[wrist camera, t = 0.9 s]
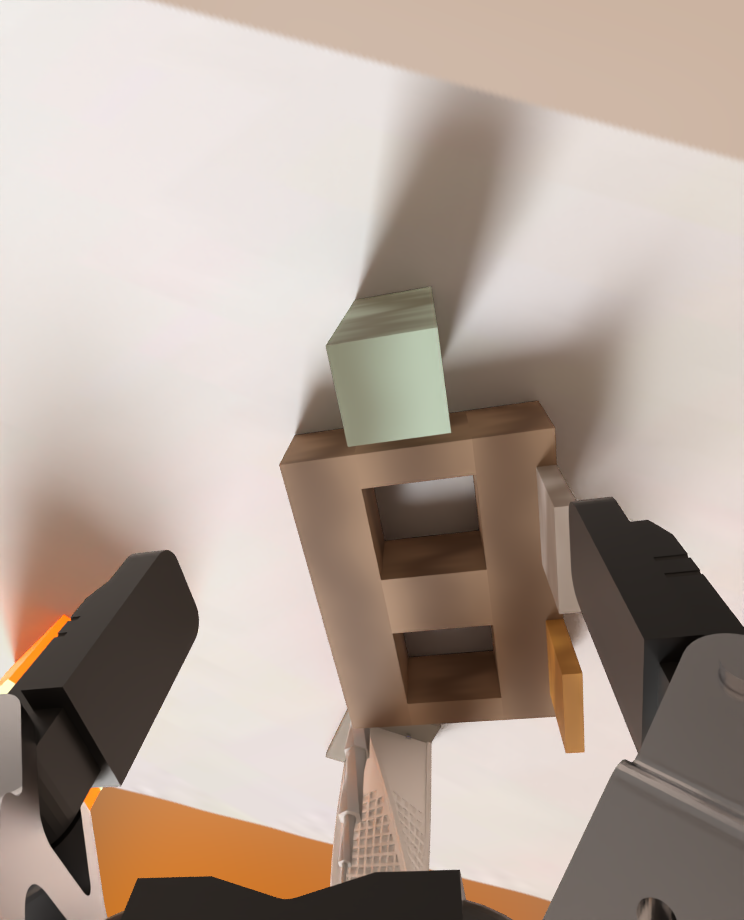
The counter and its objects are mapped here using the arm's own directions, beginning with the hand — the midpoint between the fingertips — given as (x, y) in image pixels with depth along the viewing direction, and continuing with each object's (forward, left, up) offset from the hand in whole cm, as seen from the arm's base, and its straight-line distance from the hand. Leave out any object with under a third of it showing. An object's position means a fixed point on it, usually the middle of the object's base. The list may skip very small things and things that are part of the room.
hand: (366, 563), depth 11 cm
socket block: (0, +15, -20) cm, 25 cm away
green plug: (0, 0, -20) cm, 20 cm away
